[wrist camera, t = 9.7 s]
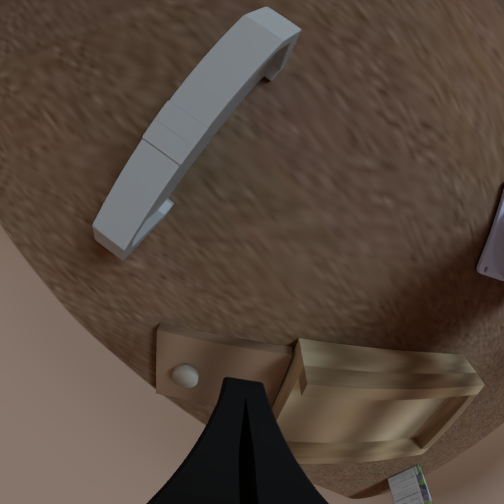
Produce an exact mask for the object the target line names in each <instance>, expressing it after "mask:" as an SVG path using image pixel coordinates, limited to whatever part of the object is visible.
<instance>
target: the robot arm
mask: <svg viewBox="0 0 504 504" xmlns="http://www.w3.org/2000/svg"><path fill="white" fill-rule="evenodd" d="M476 270H477V272H478V273H480V274H483V275H486V276H489V277H492V278H495V279H498V280H501V281H504V189H503V193H502V196H501V200H500V203H499V207H498V210H497V213H496V216H495V219H494V222H493V225H492V228H491V231H490V234H489V236H488V239H487V242H486V244H485V247H484V250H483V252H482V255H481V257H480V260H479V262H478V264H477V267H476ZM147 504H328V502H327V501H326V500H325V499H324V498H323V497H322V496H321V495H320V493H319V492H318V491H317V490H316V489H315V487H314V486H313V484H312V483H311V482H310V480H309V479H308V477H307V476H306V475H305V473H304V472H303V470H302V469H301V467H300V465H299V464H298V462H297V461H296V459H295V457H294V455H293V454H292V452H291V450H290V448H289V446H288V444H287V442H286V440H285V438H284V436H283V434H282V432H281V430H280V428H279V425H278V423H277V421H276V418H275V416H274V413H273V411H272V408H271V406H270V403H269V400H268V397H267V394H266V390H265V387H264V384H263V383H262V382H257V381H250V380H244V379H238V378H233V377H225V378H223V382H222V386H221V390H220V393H219V397H218V401H217V404H216V406H215V409H214V411H213V413H212V415H211V417H210V419H209V421H208V423H207V425H206V427H205V429H204V431H203V432H202V434H201V435H200V437H199V439H198V441H197V442H196V444H195V445H194V447H193V448H192V450H191V451H190V453H189V454H188V456H187V457H186V459H185V460H184V461H183V463H182V464H181V465H180V467H179V468H178V469H177V470H176V472H175V473H174V474H173V475H172V477H171V478H170V479H169V480H168V481H167V483H166V484H165V485H164V486H163V487H162V488H161V489H160V490H159V491H158V493H156V495H154V496H153V497H152V499H151V500H150V501H149V502H148V503H147Z"/></svg>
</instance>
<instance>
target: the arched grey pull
mask: <svg viewBox="0 0 504 504" xmlns="http://www.w3.org/2000/svg"><path fill="white" fill-rule="evenodd" d="M300 32H301V29H300V28H299V27H297V26H296V25H294V24H293V23H291V22H290V21H289V20H287V19H286V18H284V17H283V16H281V15H280V14H278V13H276V12H275V11H273V10H272V9H270V8H269V7H264V8H261V9H258V10H256V11H253V12H251V13H248V14H246V15H244V16H242V17H241V18H240V19H239V20H238V21H237V22H236V23H235V24H234V25H233V26H232V27H231V28H230V30H229V31H228V32H227V33H226V34H225V35H224V36H223V37H222V38H221V39H220V40H219V41H218V42H217V43H216V44H215V46H214V47H213V48H212V49H211V50H210V51H209V52H208V53H207V55H206V56H205V57H204V58H203V59H202V60H201V62H200V63H199V64H198V65H197V66H196V67H195V69H194V70H193V71H192V72H191V73H190V75H189V76H188V77H187V78H186V80H185V81H184V82H183V83H182V85H181V86H180V87H179V88H178V90H177V91H176V92H175V94H174V95H173V96H172V98H171V99H170V101H169V100H168V101H167V102H166V104H165V105H164V106H163V108H162V109H161V110H160V112H159V113H158V115H157V116H156V117H155V119H154V120H153V122H152V123H151V125H150V126H149V127H148V129H147V130H146V132H145V133H144V135H143V136H142V137H143V139H142V140H141V142H140V143H139V145H138V146H137V148H136V149H135V151H134V152H133V154H132V156H131V157H130V159H129V160H128V162H127V164H126V165H125V167H124V169H123V170H122V172H121V174H120V175H119V177H118V179H117V180H116V182H115V184H114V186H113V187H112V189H111V191H110V193H109V194H108V196H107V198H106V200H105V202H104V204H103V205H102V207H101V209H100V211H99V213H98V215H97V217H96V219H95V221H94V223H93V225H92V226H93V232H94V238H95V240H96V241H97V242H99V243H100V244H101V245H103V246H104V247H105V248H106V249H108V250H109V251H110V252H112V253H113V254H114V255H116V256H117V257H118V258H120V259H121V260H122V261H123V260H125V259H126V257H127V256H128V255H129V254H130V253H131V252H132V251H133V250H134V249H135V248H136V247H137V246H138V245H139V244H140V243H141V242H142V241H143V240H144V239H145V238H146V237H147V235H148V234H149V233H150V232H151V231H152V230H153V229H154V228H155V227H156V226H157V225H158V224H159V223H160V222H161V221H162V220H163V219H164V218H165V216H166V215H167V214H168V212H169V211H170V209H171V208H172V206H173V205H174V203H173V202H172V201H171V200H169V199H168V198H169V196H170V195H171V193H172V192H173V190H174V189H175V188H176V186H177V185H178V183H179V182H180V181H181V179H182V178H183V176H184V175H185V174H186V172H187V171H188V169H189V168H190V167H191V165H192V164H193V163H194V161H195V160H196V159H197V157H198V156H199V155H200V153H201V152H202V151H203V149H204V148H205V147H206V145H207V144H208V143H209V141H210V140H211V139H212V138H213V136H214V135H215V134H216V133H217V131H218V130H219V129H220V127H221V126H222V125H223V124H224V122H225V121H226V120H227V119H228V118H229V116H230V115H231V114H232V113H233V111H234V110H235V109H236V108H237V107H238V105H239V104H240V103H241V102H242V101H243V100H244V98H245V97H246V96H247V95H248V94H249V93H250V91H251V90H252V89H253V88H254V87H255V86H256V85H257V83H258V82H259V81H260V80H261V79H262V78H263V77H264V76H265V77H266V78H267V79H269V80H270V81H272V80H273V79H274V78H275V76H276V75H277V74H278V73H279V72H280V71H281V70H282V69H283V68H284V67H285V65H286V63H287V60H288V58H289V56H290V54H291V52H292V49H293V47H294V45H295V43H296V41H297V39H298V36H299V34H300Z"/></svg>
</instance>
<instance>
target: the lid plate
mask: <svg viewBox="0 0 504 504" xmlns="http://www.w3.org/2000/svg"><path fill="white" fill-rule="evenodd" d="M292 356H293V353H292V347H290V346H283V345H276V344H269V343H263V342H257V341H251V340H245V339H239V338H233V337H228V336H222V335H217V334H212V333H207V332H202V331H197V330H192V329H188V328H183V327H178V326H174V325H170V324H165V323H161V322H160V325H159V327H158V329H157V348H156V393H157V394H161V395H165V396H169V397H174V398H178V399H183V400H187V401H192V402H197V403H202V404H208V405H213V406H216V404H217V401H218V397H219V393H220V390H221V386H222V382H223V378H225V377H233V378H238V379H244V380H250V381H257V382H262V383H263V384H264V387H265V390H266V394H267V397H268V400H269V403H270V406H272V404H273V402H274V400H275V397H276V395H277V393H278V390H279V388H280V385H281V383H282V381H283V378H284V376H285V373H286V371H287V368H288V366H289V363H290V361H291V358H292Z"/></svg>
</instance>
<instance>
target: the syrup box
mask: <svg viewBox="0 0 504 504" xmlns="http://www.w3.org/2000/svg"><path fill="white" fill-rule="evenodd" d="M387 480H388V483H389V488H390V492H391V495H392V499H393V503H394V504H433V503H432V500H431V497H430V494H429V491H428V488H427V485H426V482H425V479H424V476H423V473H422V471H421V468H420V466H419V465H415V466H413V467H411V468H409V469H407V470H405V471H403V472H401V473H399V474H397V475H395V476H392V477H390V478H388V479H387Z"/></svg>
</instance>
